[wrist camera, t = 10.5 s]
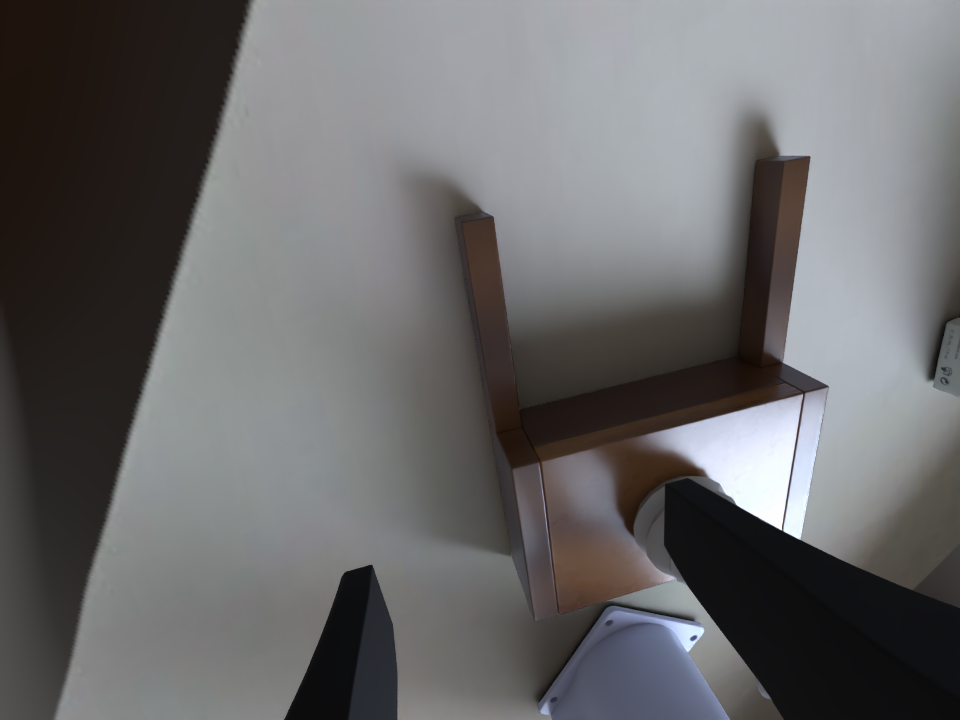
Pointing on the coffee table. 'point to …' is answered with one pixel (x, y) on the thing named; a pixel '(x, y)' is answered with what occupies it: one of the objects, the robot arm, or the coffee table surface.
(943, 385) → the cosmetic box
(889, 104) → the coffee table surface
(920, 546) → the coffee table surface
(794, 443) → the brown u-shaped piece
